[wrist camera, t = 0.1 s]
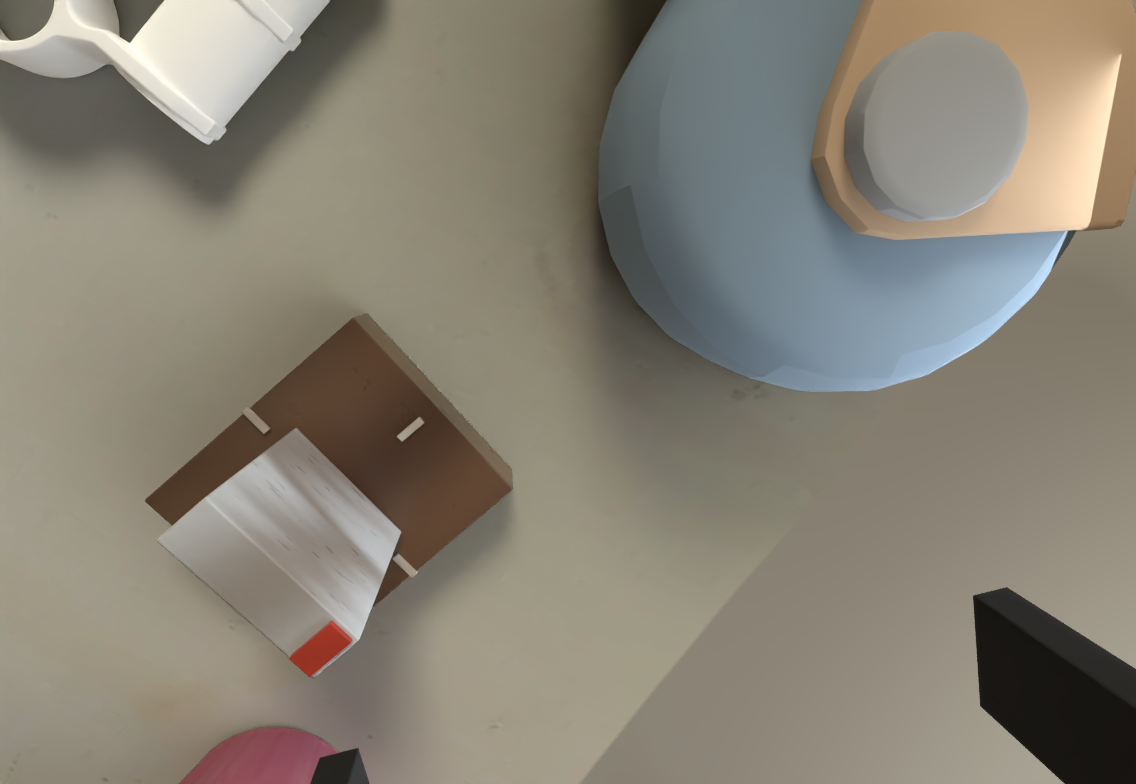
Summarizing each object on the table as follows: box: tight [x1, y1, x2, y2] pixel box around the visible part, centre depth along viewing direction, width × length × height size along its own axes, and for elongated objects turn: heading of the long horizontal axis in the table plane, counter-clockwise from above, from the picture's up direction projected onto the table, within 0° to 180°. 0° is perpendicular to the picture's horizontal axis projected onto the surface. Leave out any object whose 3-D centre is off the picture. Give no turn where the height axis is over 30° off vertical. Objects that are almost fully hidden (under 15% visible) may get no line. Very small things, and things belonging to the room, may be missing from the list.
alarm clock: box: [598, 0, 1136, 392], centre depth 26 cm, size 19×20×12 cm
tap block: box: [145, 314, 513, 607], centre depth 31 cm, size 11×13×3 cm
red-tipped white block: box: [157, 428, 401, 678], centre depth 25 cm, size 7×2×9 cm, turn 40°
